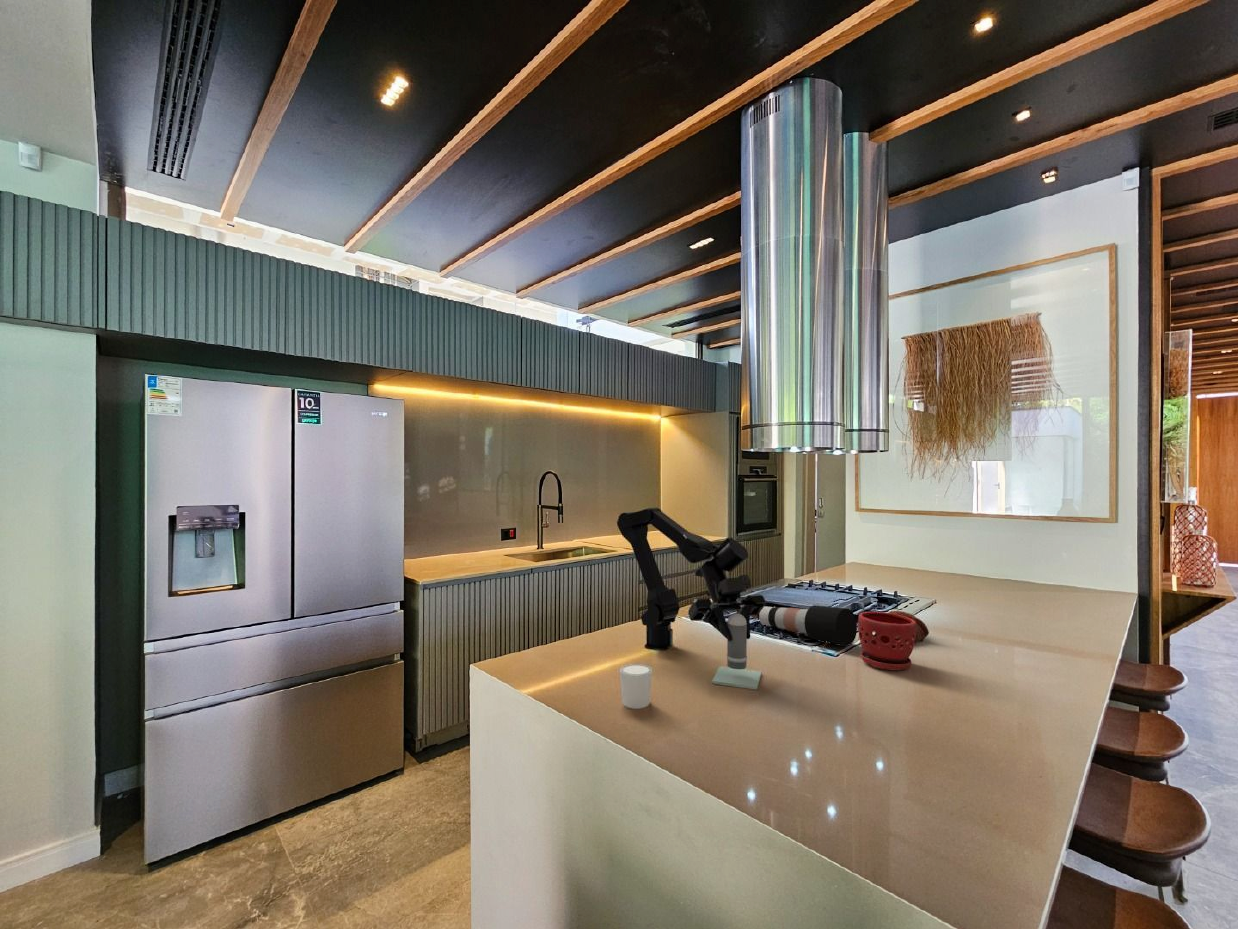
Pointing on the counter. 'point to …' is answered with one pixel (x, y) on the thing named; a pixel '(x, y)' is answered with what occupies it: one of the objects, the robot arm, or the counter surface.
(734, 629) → the cylinder
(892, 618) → the plant pot
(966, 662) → the counter surface
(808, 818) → the counter surface
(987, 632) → the counter surface
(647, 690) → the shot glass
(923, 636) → the pastry
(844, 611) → the striped bottle
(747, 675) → the coaster
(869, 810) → the counter surface
